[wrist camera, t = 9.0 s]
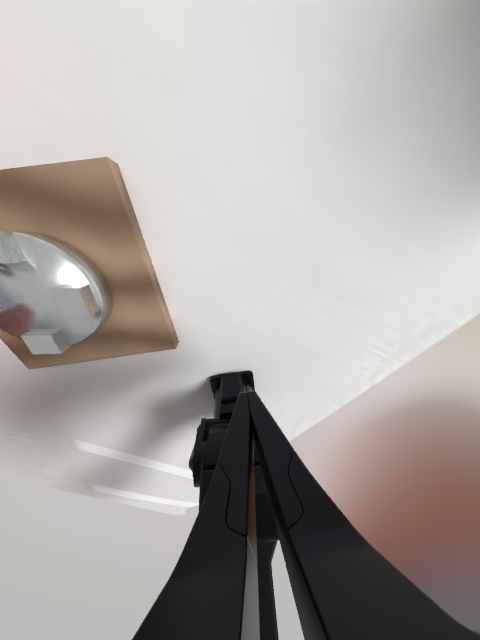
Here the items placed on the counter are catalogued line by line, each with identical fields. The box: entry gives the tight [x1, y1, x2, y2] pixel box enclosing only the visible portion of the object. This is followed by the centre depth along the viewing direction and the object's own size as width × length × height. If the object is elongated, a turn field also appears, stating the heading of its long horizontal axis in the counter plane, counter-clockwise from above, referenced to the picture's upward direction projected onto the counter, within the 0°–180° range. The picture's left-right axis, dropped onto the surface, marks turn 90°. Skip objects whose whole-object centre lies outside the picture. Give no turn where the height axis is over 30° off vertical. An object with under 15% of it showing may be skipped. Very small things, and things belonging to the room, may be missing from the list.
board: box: [0, 157, 179, 369], centre depth 17 cm, size 18×18×2 cm
